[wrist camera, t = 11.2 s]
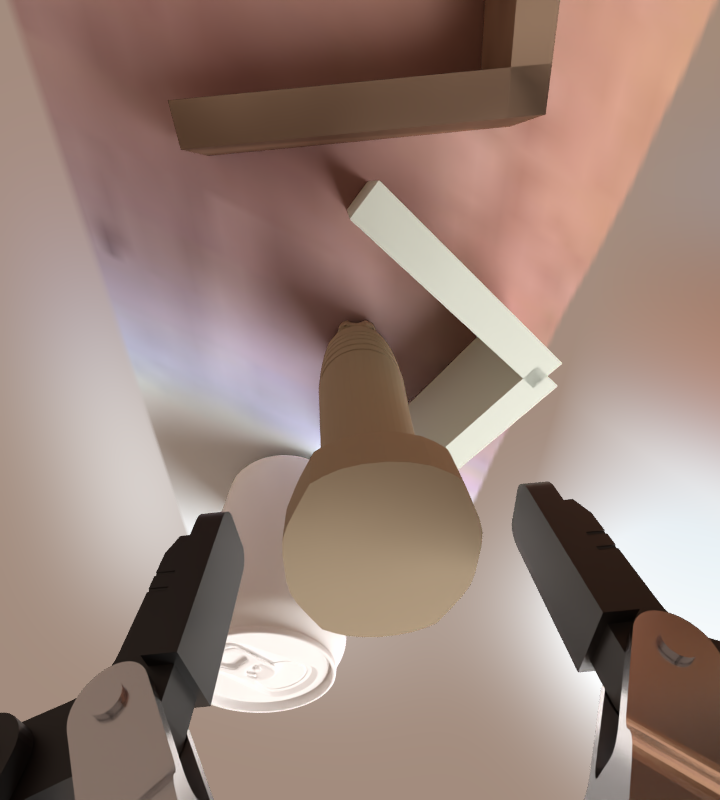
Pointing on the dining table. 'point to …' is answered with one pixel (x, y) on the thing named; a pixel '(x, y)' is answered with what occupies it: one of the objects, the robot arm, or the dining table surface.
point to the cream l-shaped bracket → (482, 359)
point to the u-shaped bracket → (390, 96)
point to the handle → (376, 504)
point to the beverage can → (270, 605)
